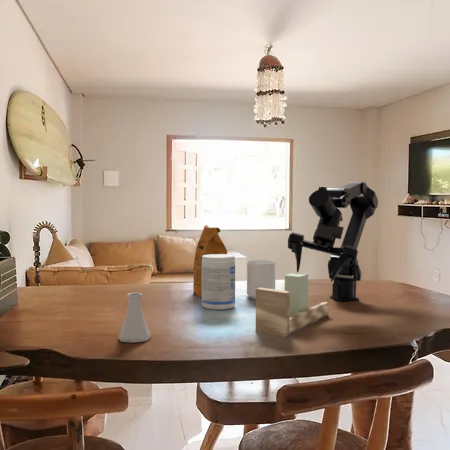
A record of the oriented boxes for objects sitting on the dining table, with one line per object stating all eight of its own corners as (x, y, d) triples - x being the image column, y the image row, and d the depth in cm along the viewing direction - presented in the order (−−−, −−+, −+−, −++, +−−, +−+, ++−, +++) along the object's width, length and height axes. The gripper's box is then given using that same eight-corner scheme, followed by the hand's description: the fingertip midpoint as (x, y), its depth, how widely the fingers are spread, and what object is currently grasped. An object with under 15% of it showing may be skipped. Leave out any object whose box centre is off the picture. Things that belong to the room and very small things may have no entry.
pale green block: (293, 316, 122) (294, 272, 121) (307, 319, 119) (308, 274, 119) (284, 320, 118) (284, 275, 117) (298, 323, 115) (299, 276, 115)
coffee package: (218, 290, 158) (218, 224, 156) (230, 297, 146) (231, 227, 145) (189, 291, 155) (189, 225, 153) (199, 299, 143) (199, 227, 142)
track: (301, 311, 130) (301, 275, 129) (327, 315, 125) (328, 278, 125) (255, 331, 110) (255, 288, 110) (285, 337, 106) (285, 293, 105)
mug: (277, 300, 143) (278, 263, 143) (248, 300, 143) (249, 264, 142) (270, 292, 155) (270, 258, 155) (243, 292, 155) (244, 258, 154)
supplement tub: (238, 310, 131) (239, 257, 130) (205, 311, 128) (205, 258, 128) (230, 302, 140) (230, 253, 139) (199, 303, 138) (199, 253, 137)
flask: (120, 334, 107) (120, 290, 107) (152, 333, 108) (152, 290, 107) (115, 344, 100) (115, 297, 99) (150, 343, 101) (150, 297, 100)
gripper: (296, 204, 127) (280, 255, 121) (366, 220, 123) (353, 274, 116) (295, 223, 137) (280, 271, 131) (359, 239, 133) (347, 289, 126)
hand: (314, 276), depth 126 cm, fingers open, 9 cm apart
